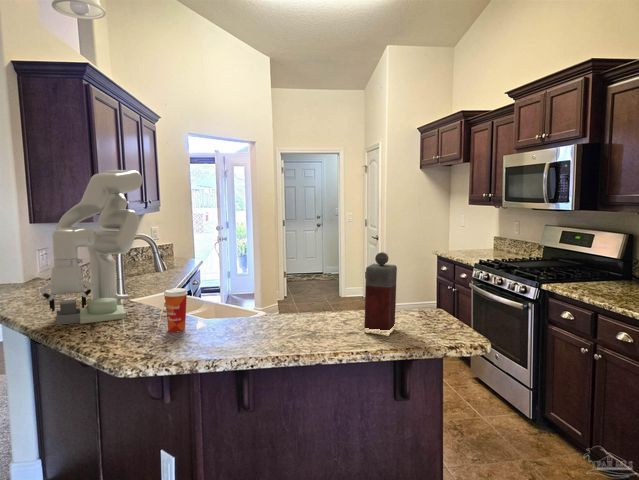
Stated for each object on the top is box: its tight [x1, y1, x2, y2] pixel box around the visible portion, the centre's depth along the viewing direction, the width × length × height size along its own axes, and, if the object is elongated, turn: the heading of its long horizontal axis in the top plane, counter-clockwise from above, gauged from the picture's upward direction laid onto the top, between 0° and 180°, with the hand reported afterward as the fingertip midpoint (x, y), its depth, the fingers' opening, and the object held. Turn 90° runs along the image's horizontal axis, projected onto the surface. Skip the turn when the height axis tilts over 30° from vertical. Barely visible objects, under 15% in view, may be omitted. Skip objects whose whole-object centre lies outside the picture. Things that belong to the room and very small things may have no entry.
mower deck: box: [55, 298, 127, 326], centre depth 157 cm, size 22×14×6 cm, turn 120°
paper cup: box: [163, 287, 188, 333], centre depth 143 cm, size 8×8×14 cm
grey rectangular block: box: [59, 298, 78, 315], centre depth 153 cm, size 5×6×7 cm
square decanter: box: [364, 251, 398, 330], centre depth 146 cm, size 9×11×28 cm
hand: (68, 308), depth 153 cm, fingers open, 9 cm apart
